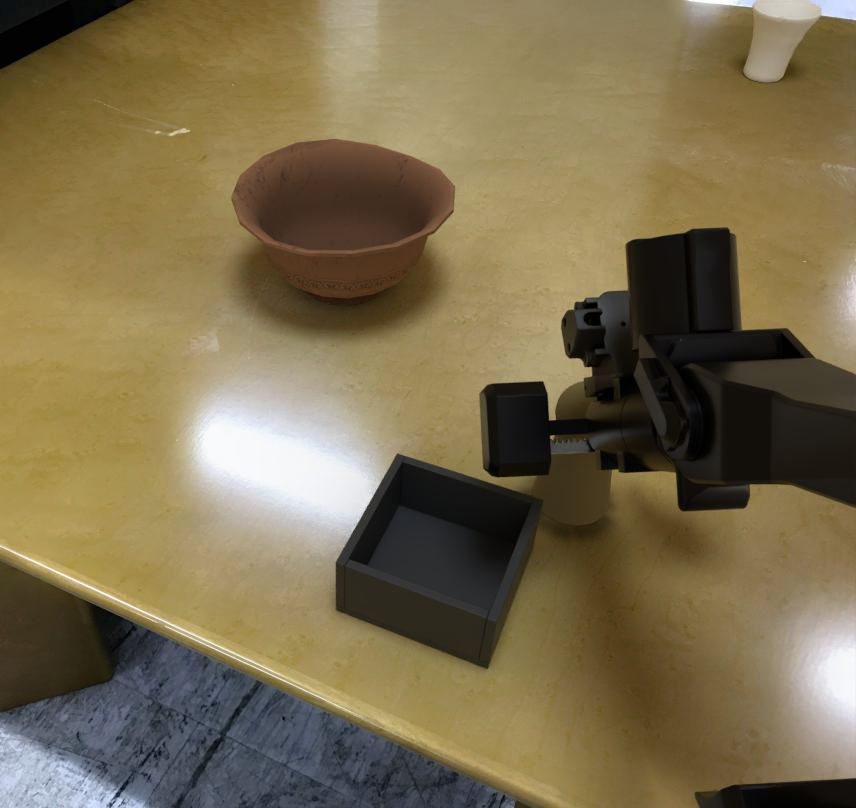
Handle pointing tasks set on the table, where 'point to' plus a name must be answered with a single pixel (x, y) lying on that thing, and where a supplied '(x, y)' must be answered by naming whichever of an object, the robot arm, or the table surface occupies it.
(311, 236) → the bowl
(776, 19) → the cup
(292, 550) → the table surface
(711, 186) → the table surface
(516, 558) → the dark grey square box
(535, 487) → the cork
